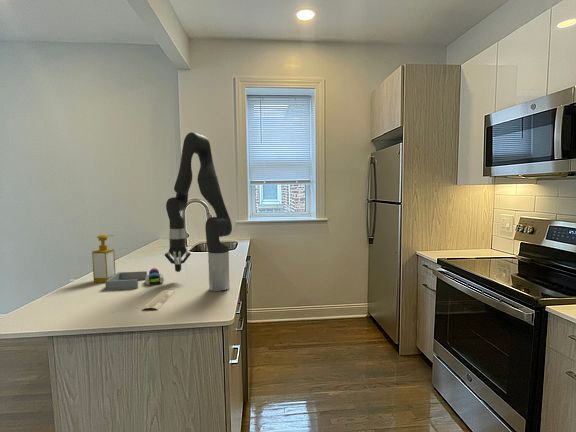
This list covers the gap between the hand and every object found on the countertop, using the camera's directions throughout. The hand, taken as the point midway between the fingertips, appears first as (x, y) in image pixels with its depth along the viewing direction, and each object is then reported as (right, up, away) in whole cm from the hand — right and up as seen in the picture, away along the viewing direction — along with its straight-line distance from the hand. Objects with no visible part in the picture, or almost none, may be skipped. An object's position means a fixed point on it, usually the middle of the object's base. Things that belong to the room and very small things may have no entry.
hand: (178, 271), depth 174 cm
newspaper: (+2, -8, -30) cm, 31 cm away
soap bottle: (-38, -5, +6) cm, 39 cm away
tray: (-24, -6, -4) cm, 25 cm away
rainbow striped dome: (-11, -6, -2) cm, 13 cm away
